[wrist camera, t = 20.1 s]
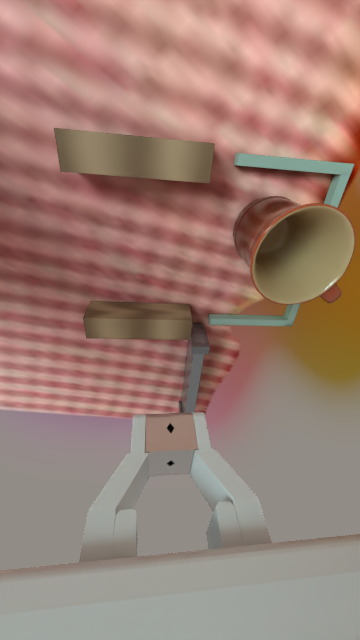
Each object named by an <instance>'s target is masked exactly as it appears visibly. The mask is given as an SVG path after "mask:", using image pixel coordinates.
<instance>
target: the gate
mask: <svg viewBox="0 0 360 640" xmlns="http://www.w3.org/2000/svg"><path fill="white" fill-rule="evenodd" d="M209 349H210V346H209V342H208V338H207V334H206V331H205V327H204V324H202V323H192V329H191V337H190V340H189V341H188V350H187V358H186V366H185V374H184V383H183V391H182V399H181V401H179V413H187V412H191V413H194V412H195V406H196V400H197V395H198V389H199V383H200V377H201V371H202V365H203V359H204V354H209Z"/></svg>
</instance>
